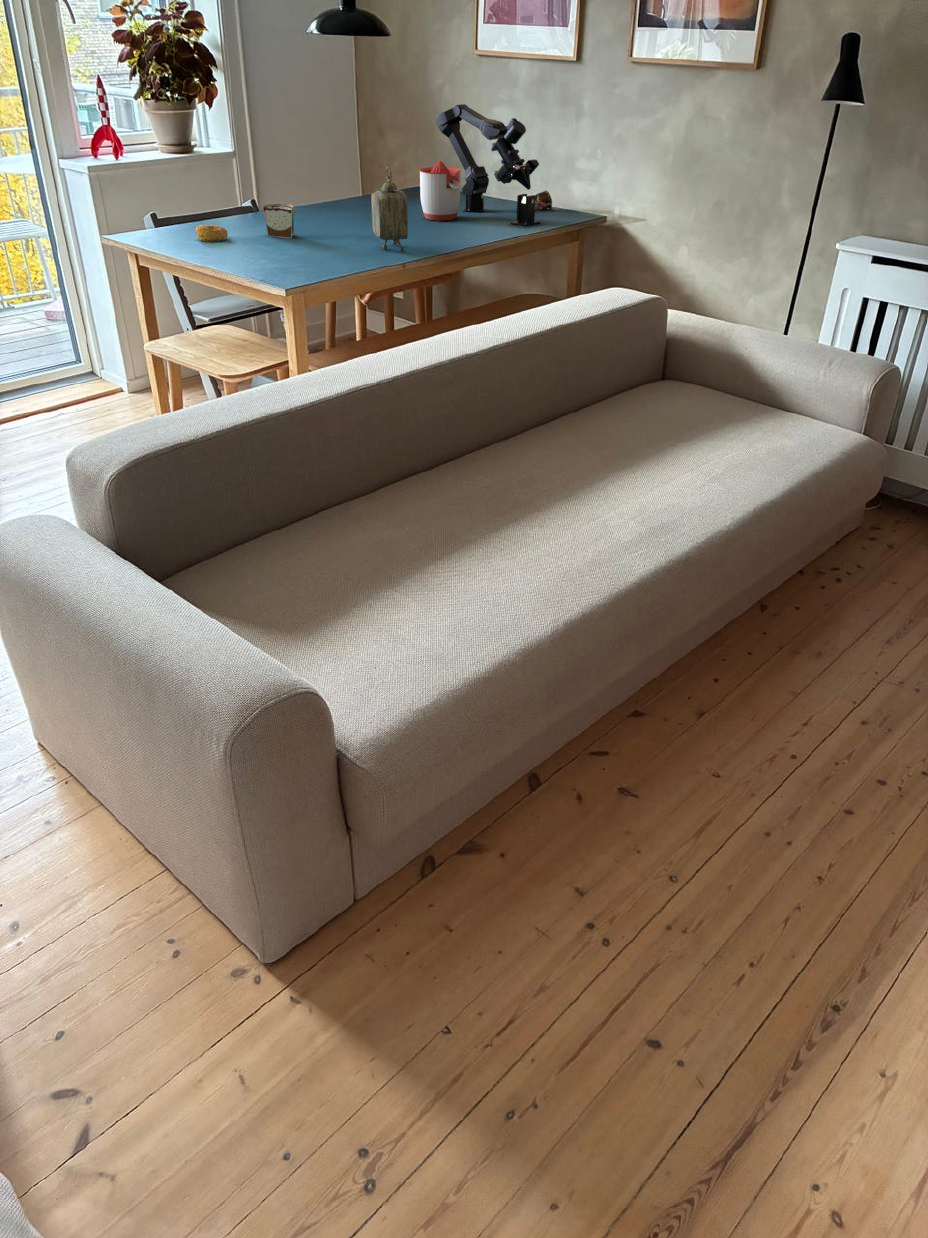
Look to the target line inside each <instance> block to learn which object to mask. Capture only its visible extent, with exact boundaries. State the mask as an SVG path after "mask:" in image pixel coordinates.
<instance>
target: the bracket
mask: <svg viewBox="0 0 928 1238" xmlns="http://www.w3.org/2000/svg"><path fill="white" fill-rule="evenodd" d="M522 196H526V204H523V203H521V201H522ZM535 197H536V194H531V195H528V193H522V194H517V197H516V198H517V200H516V220H514V221H510V224H509V225H512V226H518V227H523V228H527V227H530V226H531V227H532V226H535V225H536V226H537V225H540V224H541V220H535V219H536V218H535V217H536V216H535V215H536V209H535V207H536V205H535Z"/></svg>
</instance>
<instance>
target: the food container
mask: <svg viewBox="0 0 928 1238" xmlns="http://www.w3.org/2000/svg"><path fill="white" fill-rule="evenodd" d="M261 212H262V213H263V217H264V222H265V229H266V232H267V237H268V238H280V239H281V238H282V239H293V238H294V237H295V236H294V235H295V234H294V232H295V231H294V230H295V228H294V225H295V224H294V223H295V222H294V221H295V218H294V217H295V215H296V209H295V207H294V205H293V204H289V203H288V204H287V203H269V204H263V205H262V206H261Z"/></svg>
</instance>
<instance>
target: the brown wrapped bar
mask: <svg viewBox="0 0 928 1238" xmlns="http://www.w3.org/2000/svg"><path fill="white" fill-rule="evenodd" d="M521 203H523V204H526V196H522V201H521ZM545 205H546V204H545V203H542V202H536V201H535V207H537V206H542V207H545Z"/></svg>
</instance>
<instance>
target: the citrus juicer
mask: <svg viewBox="0 0 928 1238" xmlns="http://www.w3.org/2000/svg"><path fill="white" fill-rule="evenodd" d="M418 171H419V192H420V203H421V208H422V213H423V215H424V218H425V219H427V220H432V221H436V222H442V221H450V220H455V219H456V218H457V215H458V212H459V207H460V204H461V203H460V202H461V172H462V169H460V168H457V167H449V166H446V165H445V164H444V162H443V161H442V160H438V162H436V163H435V165H434V166H430V167H429V166H428V167H422V168H420V169H419V170H418Z"/></svg>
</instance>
